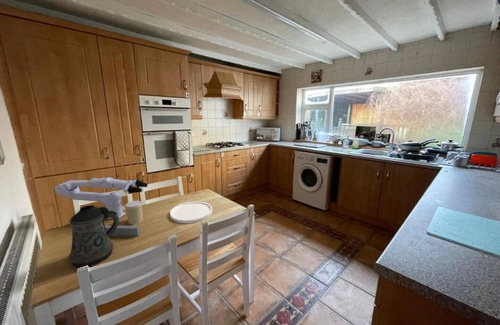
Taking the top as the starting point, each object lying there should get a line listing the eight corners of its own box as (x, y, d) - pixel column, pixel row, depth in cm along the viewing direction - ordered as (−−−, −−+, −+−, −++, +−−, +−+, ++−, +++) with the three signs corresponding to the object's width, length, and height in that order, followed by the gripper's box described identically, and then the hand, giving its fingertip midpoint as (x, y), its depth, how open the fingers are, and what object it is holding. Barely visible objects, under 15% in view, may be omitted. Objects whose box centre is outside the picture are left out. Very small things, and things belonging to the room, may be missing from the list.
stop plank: (101, 235, 112) (100, 227, 111) (104, 233, 114) (103, 225, 113) (138, 236, 112) (137, 228, 111) (140, 233, 115) (139, 225, 113)
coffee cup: (147, 218, 131) (145, 201, 128) (135, 226, 122) (132, 207, 119) (136, 216, 134) (134, 199, 131) (123, 223, 125) (121, 205, 122)
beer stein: (62, 262, 92) (50, 212, 86) (106, 238, 110) (99, 195, 104) (84, 273, 86) (73, 220, 80) (127, 247, 103) (120, 201, 97)
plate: (213, 221, 130) (213, 217, 129) (167, 226, 123) (166, 222, 123) (211, 202, 156) (211, 199, 156) (172, 206, 150) (172, 203, 149)
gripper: (115, 183, 121) (139, 186, 122) (128, 174, 135) (149, 177, 136) (115, 194, 123) (139, 197, 124) (128, 184, 137) (149, 187, 138)
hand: (144, 187), depth 130 cm, fingers open, 7 cm apart
